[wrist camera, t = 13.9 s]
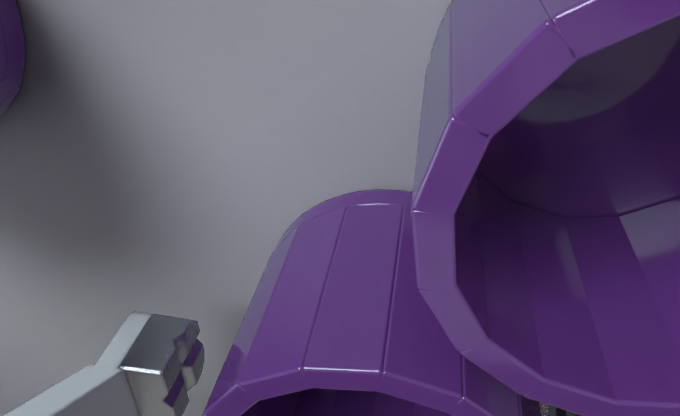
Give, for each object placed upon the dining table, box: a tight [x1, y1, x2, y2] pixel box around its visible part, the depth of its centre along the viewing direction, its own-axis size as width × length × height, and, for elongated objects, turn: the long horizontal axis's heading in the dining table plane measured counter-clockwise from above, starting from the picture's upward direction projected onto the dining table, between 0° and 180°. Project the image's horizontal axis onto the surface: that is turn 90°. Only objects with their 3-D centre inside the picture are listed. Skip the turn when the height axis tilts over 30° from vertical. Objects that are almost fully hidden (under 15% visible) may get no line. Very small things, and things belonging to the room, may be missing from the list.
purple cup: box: [202, 190, 541, 416], centre depth 12 cm, size 6×6×5 cm
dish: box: [411, 0, 680, 416], centre depth 8 cm, size 6×6×5 cm
